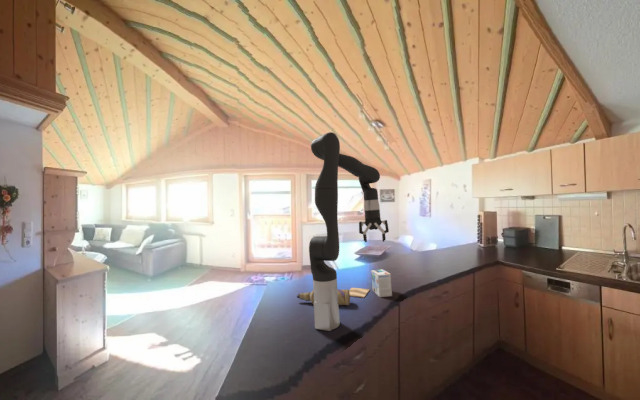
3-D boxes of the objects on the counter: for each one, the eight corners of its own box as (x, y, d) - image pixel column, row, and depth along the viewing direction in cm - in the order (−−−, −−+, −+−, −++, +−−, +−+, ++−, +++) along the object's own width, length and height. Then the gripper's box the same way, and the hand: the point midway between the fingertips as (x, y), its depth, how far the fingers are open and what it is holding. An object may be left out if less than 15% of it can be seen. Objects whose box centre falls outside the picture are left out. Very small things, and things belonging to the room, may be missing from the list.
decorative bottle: (351, 301, 111) (350, 287, 111) (348, 308, 104) (347, 292, 104) (300, 299, 118) (299, 285, 119) (294, 305, 111) (293, 290, 111)
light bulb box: (372, 290, 125) (370, 269, 125) (384, 289, 125) (383, 268, 126) (379, 297, 114) (377, 274, 115) (392, 296, 115) (391, 273, 116)
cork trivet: (364, 297, 115) (364, 296, 115) (344, 295, 119) (344, 294, 119) (369, 290, 125) (369, 289, 126) (351, 288, 130) (351, 287, 130)
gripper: (356, 210, 116) (359, 243, 116) (386, 208, 112) (389, 242, 112) (358, 210, 123) (361, 241, 123) (386, 207, 119) (389, 240, 119)
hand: (374, 241), depth 117 cm, fingers open, 8 cm apart
